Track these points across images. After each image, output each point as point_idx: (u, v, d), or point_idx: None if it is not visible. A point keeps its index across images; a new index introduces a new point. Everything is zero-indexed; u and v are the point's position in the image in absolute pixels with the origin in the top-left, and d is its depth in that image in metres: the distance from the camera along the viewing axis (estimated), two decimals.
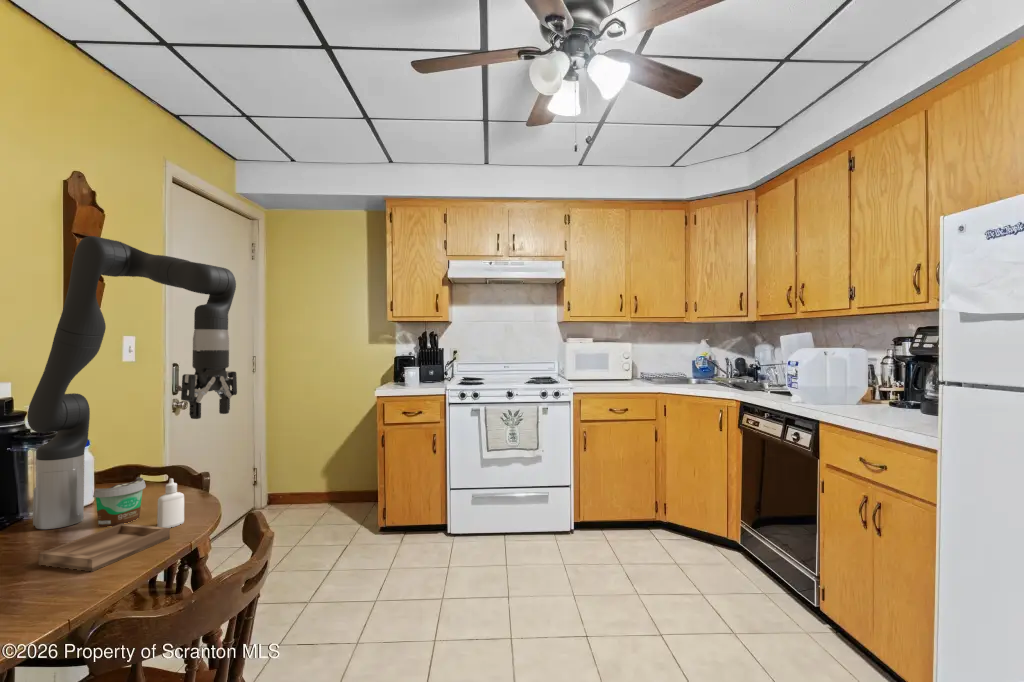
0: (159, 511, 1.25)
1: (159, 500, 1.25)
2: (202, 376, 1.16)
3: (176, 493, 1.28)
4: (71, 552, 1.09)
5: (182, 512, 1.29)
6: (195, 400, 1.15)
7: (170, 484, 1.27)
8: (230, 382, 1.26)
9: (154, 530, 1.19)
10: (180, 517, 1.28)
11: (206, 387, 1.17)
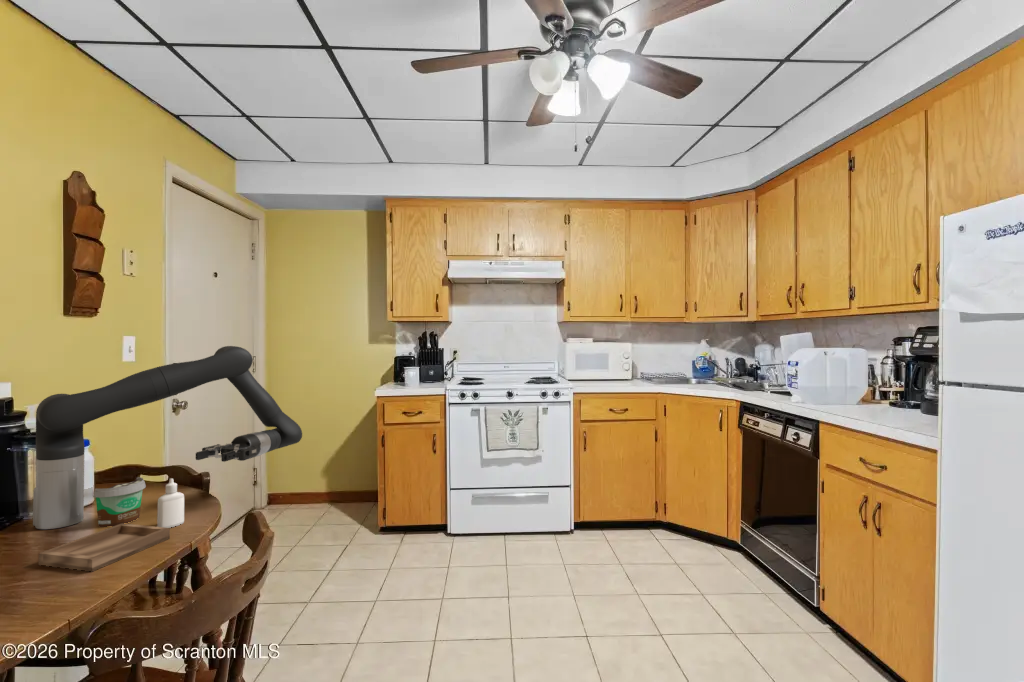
0: (159, 511, 1.25)
1: (159, 500, 1.25)
2: (246, 454, 1.48)
3: (176, 493, 1.28)
4: (71, 552, 1.09)
5: (182, 512, 1.29)
6: (237, 458, 1.43)
7: (170, 484, 1.27)
8: (213, 451, 1.48)
9: (154, 530, 1.19)
10: (180, 517, 1.28)
11: None
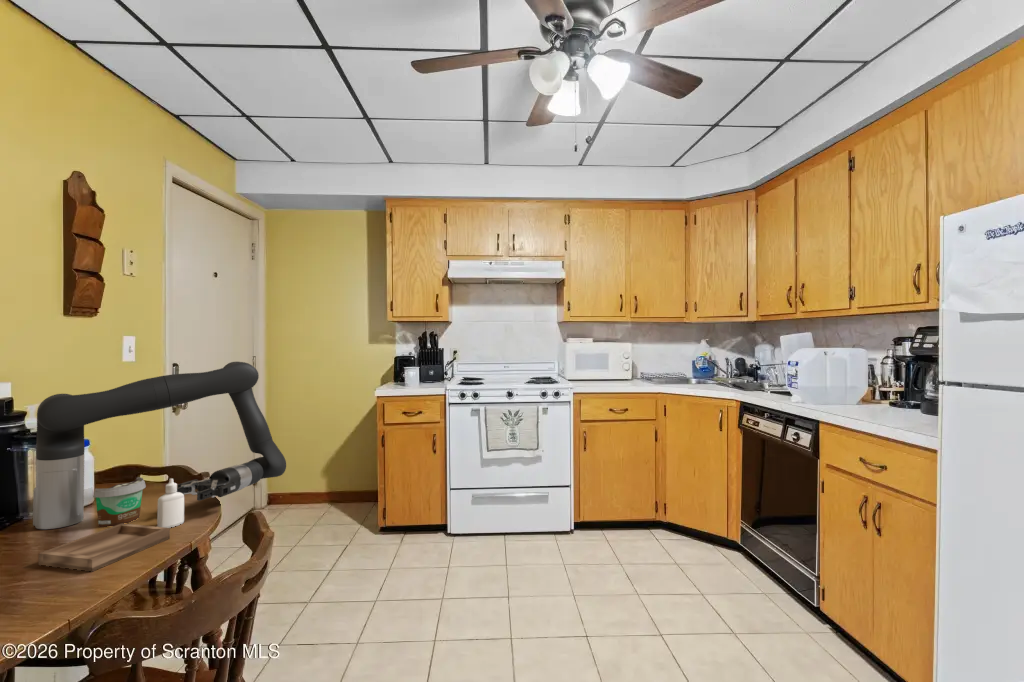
0: (159, 511, 1.25)
1: (159, 500, 1.25)
2: None
3: (176, 493, 1.28)
4: (71, 552, 1.09)
5: (182, 512, 1.29)
6: (214, 495, 1.35)
7: (170, 484, 1.27)
8: (190, 487, 1.41)
9: (154, 530, 1.19)
10: (180, 517, 1.28)
11: None
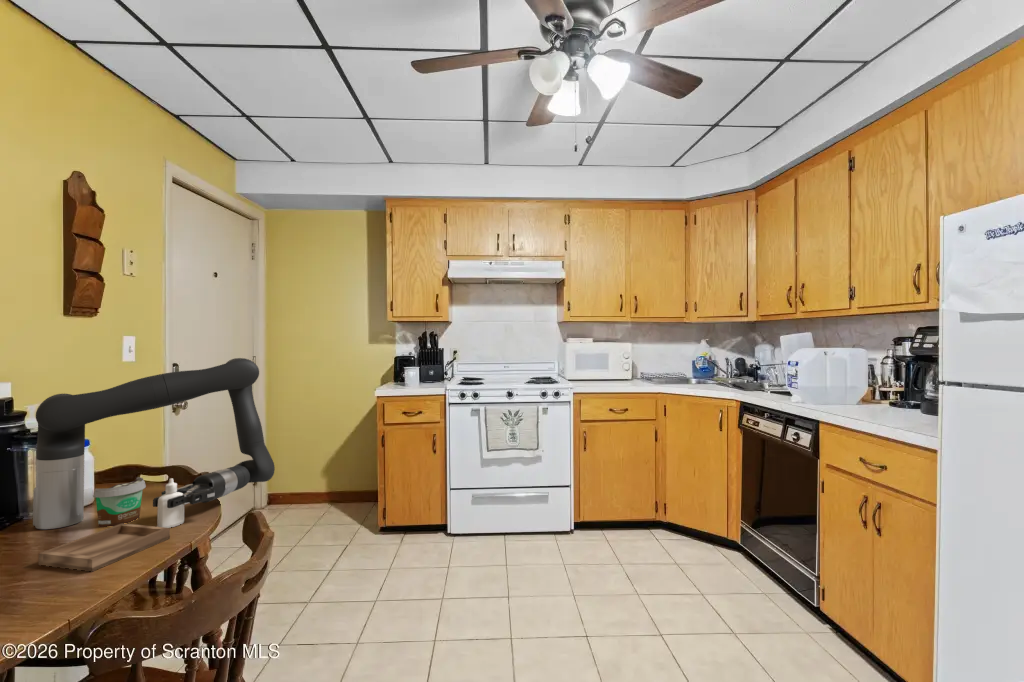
0: (159, 511, 1.25)
1: (159, 500, 1.25)
2: None
3: (176, 493, 1.28)
4: (71, 552, 1.09)
5: (182, 512, 1.29)
6: (186, 503, 1.29)
7: (170, 484, 1.27)
8: None
9: (154, 530, 1.19)
10: (180, 517, 1.28)
11: None
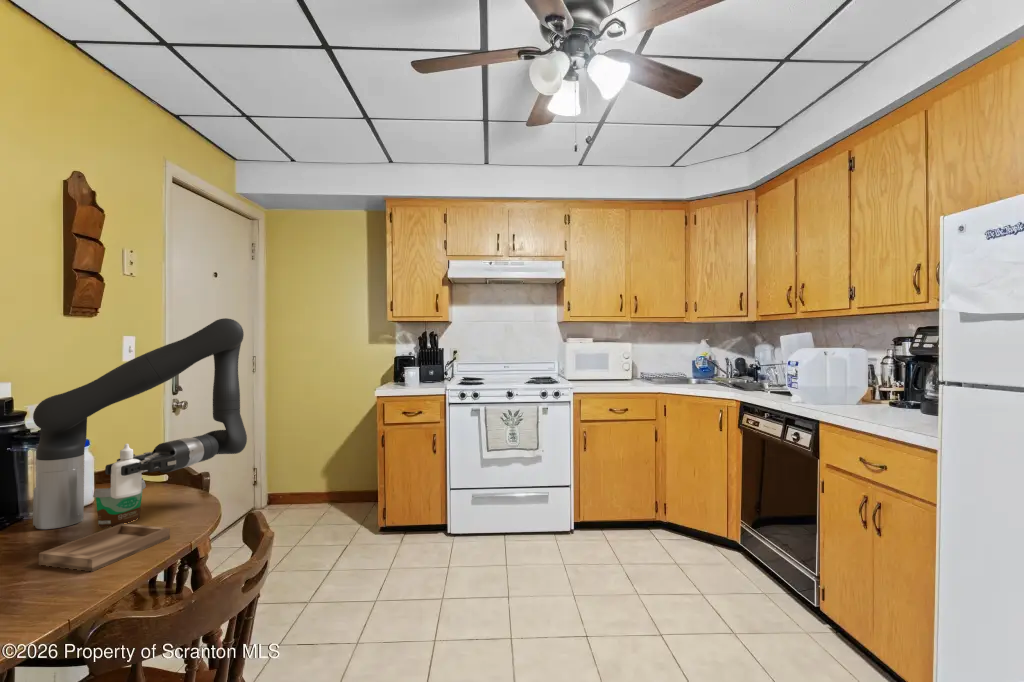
0: (112, 479, 1.14)
1: (112, 467, 1.14)
2: None
3: (132, 460, 1.16)
4: (71, 552, 1.09)
5: (139, 481, 1.17)
6: (144, 470, 1.17)
7: (125, 449, 1.15)
8: None
9: (154, 530, 1.19)
10: (137, 486, 1.17)
11: None
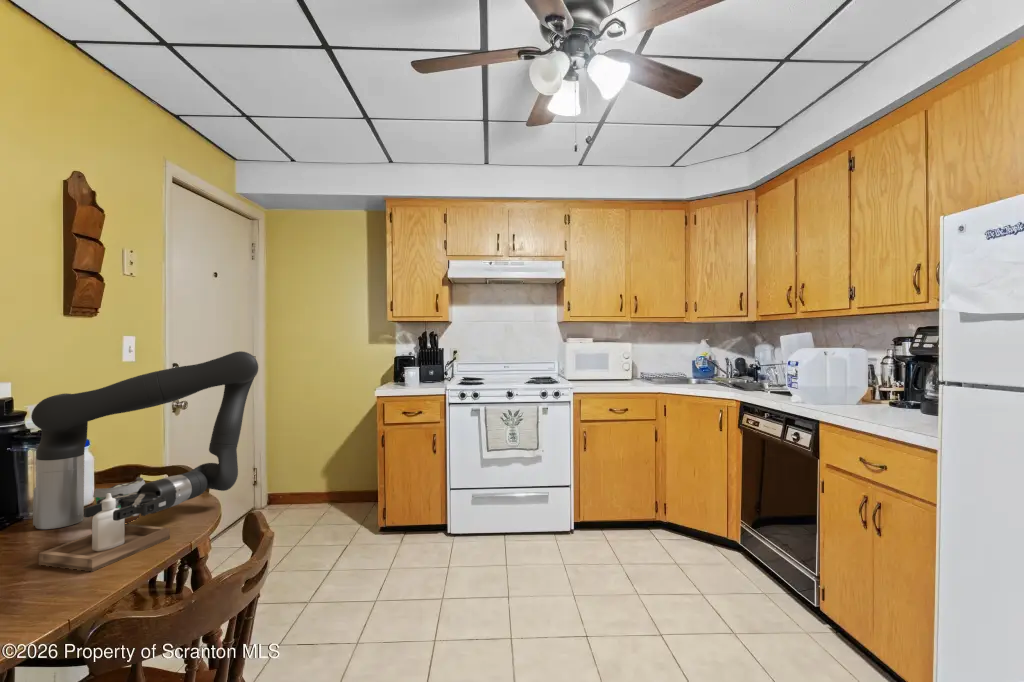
0: (94, 531, 1.10)
1: (94, 518, 1.10)
2: None
3: (114, 510, 1.12)
4: (71, 552, 1.09)
5: (122, 531, 1.13)
6: (137, 514, 1.13)
7: (107, 500, 1.11)
8: None
9: (154, 530, 1.19)
10: (120, 536, 1.13)
11: None
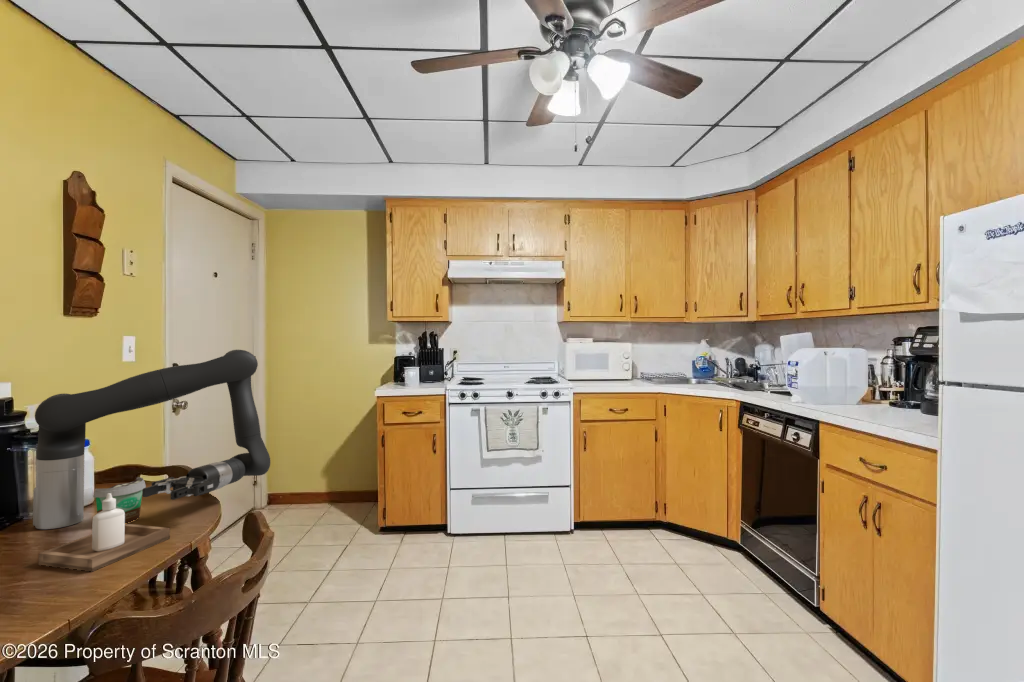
0: (94, 531, 1.10)
1: (94, 518, 1.10)
2: None
3: (115, 510, 1.12)
4: (71, 552, 1.09)
5: (122, 531, 1.13)
6: (190, 494, 1.27)
7: (107, 500, 1.11)
8: (165, 486, 1.33)
9: (154, 530, 1.19)
10: (120, 537, 1.13)
11: None
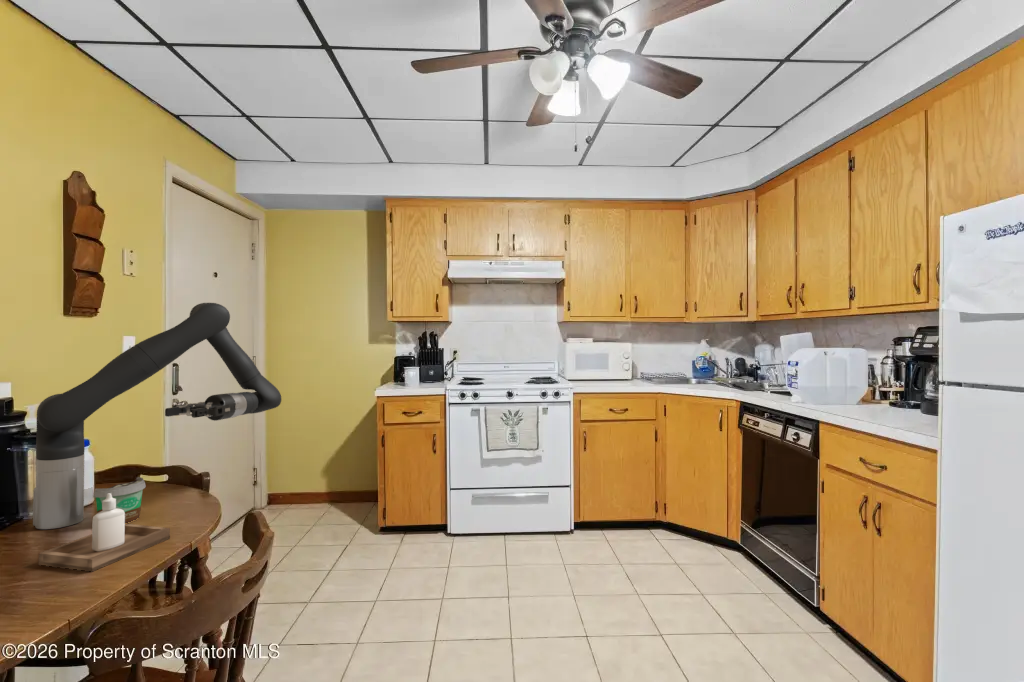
0: (94, 531, 1.10)
1: (94, 518, 1.10)
2: None
3: (115, 510, 1.12)
4: (71, 552, 1.09)
5: (122, 531, 1.13)
6: (209, 415, 1.37)
7: (107, 500, 1.11)
8: (185, 410, 1.42)
9: (154, 530, 1.19)
10: (120, 537, 1.13)
11: None
